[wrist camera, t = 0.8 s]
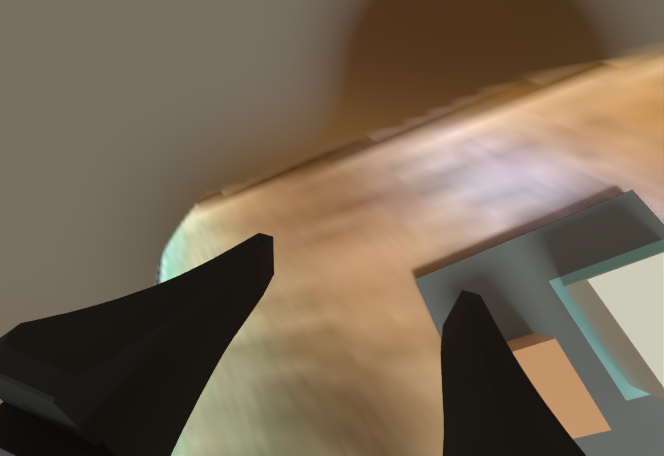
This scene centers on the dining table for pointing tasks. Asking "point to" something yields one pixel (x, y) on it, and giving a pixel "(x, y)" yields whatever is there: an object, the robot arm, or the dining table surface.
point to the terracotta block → (558, 384)
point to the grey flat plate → (566, 306)
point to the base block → (629, 318)
